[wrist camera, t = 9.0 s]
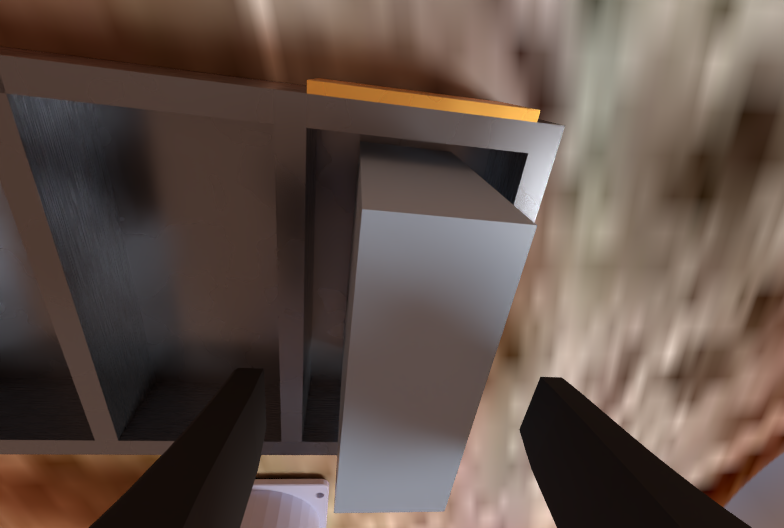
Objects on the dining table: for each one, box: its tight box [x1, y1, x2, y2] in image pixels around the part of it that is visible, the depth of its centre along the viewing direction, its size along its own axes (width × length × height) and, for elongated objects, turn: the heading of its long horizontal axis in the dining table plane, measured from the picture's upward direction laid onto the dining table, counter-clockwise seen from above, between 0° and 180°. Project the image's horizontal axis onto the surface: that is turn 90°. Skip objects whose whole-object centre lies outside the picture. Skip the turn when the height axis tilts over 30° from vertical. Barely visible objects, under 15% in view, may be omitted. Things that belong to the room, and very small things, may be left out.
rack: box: [0, 47, 565, 455], centre depth 13 cm, size 14×21×4 cm, turn 83°
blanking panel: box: [334, 141, 537, 513], centre depth 12 cm, size 9×3×7 cm, turn 173°
